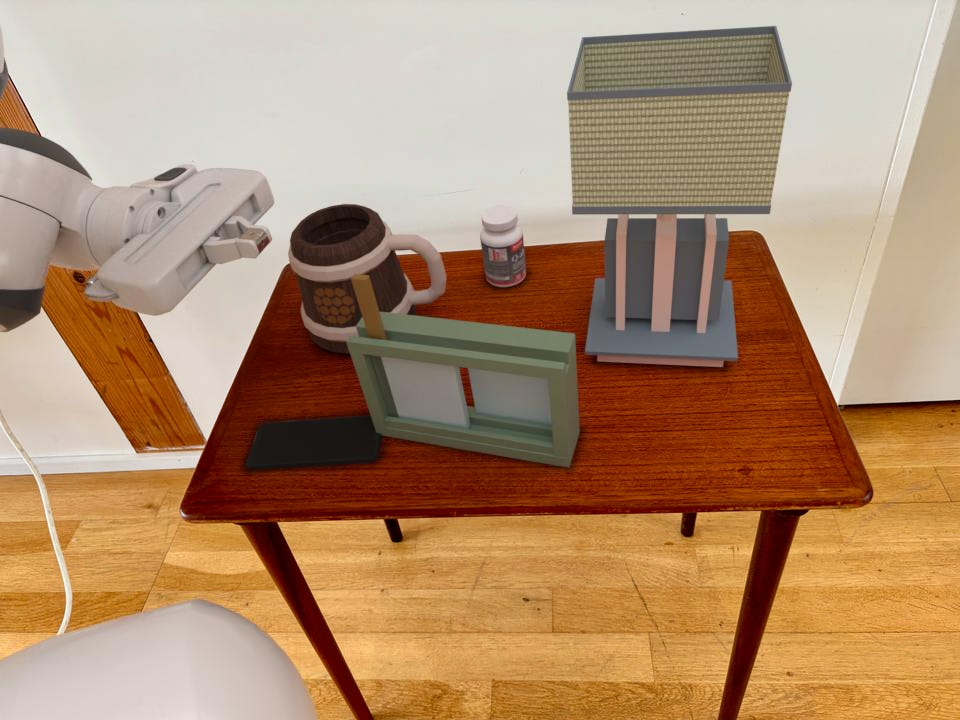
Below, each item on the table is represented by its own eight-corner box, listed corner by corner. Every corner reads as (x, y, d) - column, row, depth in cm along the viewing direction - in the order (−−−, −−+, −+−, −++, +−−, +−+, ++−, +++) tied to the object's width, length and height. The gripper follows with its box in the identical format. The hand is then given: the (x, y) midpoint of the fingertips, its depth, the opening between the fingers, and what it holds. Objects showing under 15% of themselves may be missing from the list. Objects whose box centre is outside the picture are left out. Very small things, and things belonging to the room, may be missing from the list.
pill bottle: (523, 289, 96) (517, 226, 89) (482, 288, 97) (473, 226, 91) (529, 264, 100) (523, 202, 94) (489, 264, 101) (481, 203, 95)
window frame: (569, 468, 73) (563, 369, 64) (376, 434, 80) (345, 341, 70) (579, 432, 76) (575, 333, 67) (394, 403, 83) (366, 309, 74)
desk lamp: (736, 296, 89) (775, 24, 68) (743, 374, 79) (792, 84, 58) (589, 293, 94) (582, 36, 72) (578, 366, 84) (566, 94, 62)
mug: (294, 360, 91) (255, 264, 81) (324, 289, 102) (292, 196, 92) (446, 356, 88) (425, 255, 78) (460, 283, 99) (443, 186, 89)
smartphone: (259, 422, 83) (384, 413, 82) (261, 426, 84) (386, 418, 82) (243, 467, 78) (376, 459, 76) (245, 472, 78) (378, 464, 77)
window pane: (467, 432, 76) (438, 287, 63) (390, 419, 79) (347, 278, 66) (470, 425, 77) (442, 281, 64) (394, 413, 79) (352, 272, 67)
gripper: (55, 267, 62) (184, 281, 58) (191, 155, 76) (303, 160, 71) (90, 322, 66) (213, 339, 62) (213, 207, 80) (321, 214, 76)
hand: (262, 242), depth 67 cm, fingers closed
